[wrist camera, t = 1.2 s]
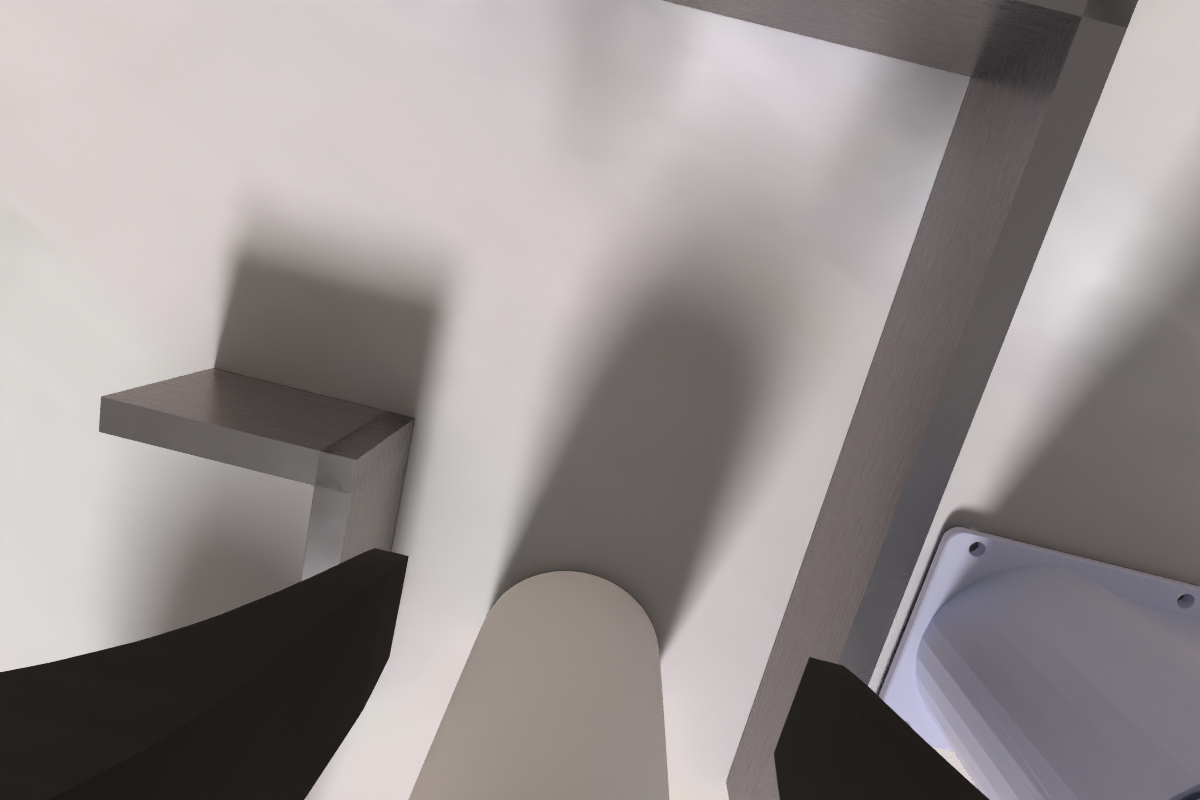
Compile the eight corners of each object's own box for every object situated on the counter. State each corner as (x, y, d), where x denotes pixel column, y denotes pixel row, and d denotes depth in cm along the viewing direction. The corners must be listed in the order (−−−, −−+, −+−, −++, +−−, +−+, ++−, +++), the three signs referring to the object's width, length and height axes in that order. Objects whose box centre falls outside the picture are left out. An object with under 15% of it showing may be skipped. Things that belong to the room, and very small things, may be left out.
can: (522, 742, 24) (412, 1219, 12) (452, 597, 22) (253, 966, 11) (684, 694, 23) (738, 1155, 11) (620, 540, 22) (604, 873, 10)
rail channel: (1019, 48, 18) (1146, -23, 13) (752, 788, 23) (779, 911, 19) (263, -140, 18) (139, -275, 13) (185, 647, 23) (81, 736, 19)
